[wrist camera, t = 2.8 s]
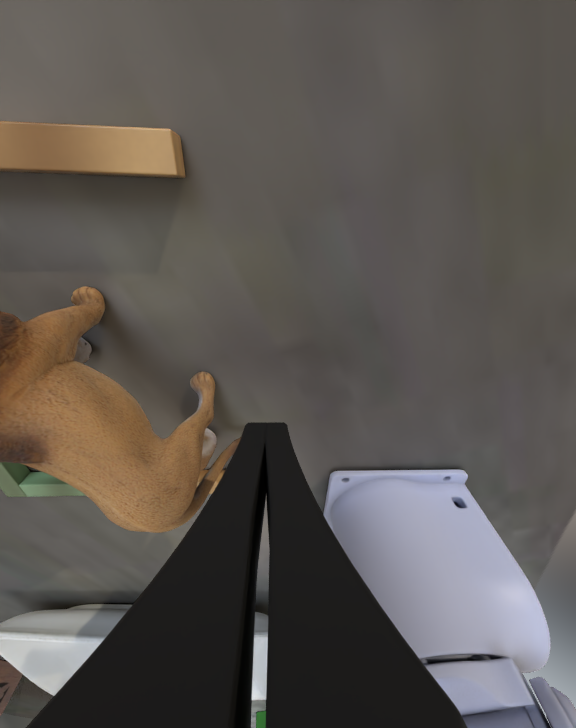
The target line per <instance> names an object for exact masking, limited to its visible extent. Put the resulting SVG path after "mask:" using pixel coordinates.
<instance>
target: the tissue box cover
mask: <svg viewBox="0 0 576 728" xmlns="http://www.w3.org/2000/svg"><path fill="white" fill-rule="evenodd" d="M22 675H23V674H22V673H21V672H20V671H18V670H17V669H16V668H15V667H14V666H13V665H11V664H10V663H9V662H7V661H3V660H0V716H1V714H2V713H3V711H4V709H5V707H6V705H7V703H8V701H9V700H10V698H11V696H12V694H13V692H14V690H15V688H16V687H17V685H18V683H19V681H20V679H21V677H22Z"/></svg>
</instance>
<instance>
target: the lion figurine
mask: <svg viewBox="0 0 576 728" xmlns="http://www.w3.org/2000/svg"><path fill="white" fill-rule="evenodd" d="M71 301H72V303H73V304H75V305H76V306H72V307H68V308H64V309H59V310H54V311H51V312H47V313H44V314H42V315H39V316H37V317H35V318H33V319H31V320H29V321H26V322H22V321H20V320H19V319H18V318H17V317H16V316H14V315H12V314H9V313H5V312H1V311H0V462H9V463H20V464H24V465H26V466H29V467H32V468H34V469H37V470H39V471H42V472H44V473H47V474H49V475H51V476H53V477H55V478H57V479H59V480H61V481H64V482H66V483H68V484H69V485H71V486H73V487H74V488H76V489H78V490H79V491H81V492H82V493H84V494H85V495H86V496H88V497H89V498H90V499H91V500H92V501H93V502H94V503H95V504H96V505H97V506H98V507H99V508H100V509H101V510H102V512H103V513H104V514H105V515H106V516H107V518H108V519H109V520H111V521H112V522H113V523H115V524H117V525H119V526H121V527H122V528H124V529H127V530H130V531H140V532H153V533H160V532H166V531H170V530H173V529H175V528H177V527H179V526H181V525H183V524H184V523H186V522H187V521H188V520H190V519H191V518H192V516H193V515H194V514H195V513H196V512H197V511H198V510H199V508H200V507H201V506H202V504H203V503H204V501H205V499H206V498H207V496H208V494H209V492H210V491H211V489H212V487H213V485H214V483H215V481H216V480H217V478H218V476H219V474H220V472H221V471H222V469H223V467H224V465H225V464H226V462H227V461H228V459H229V458H230V457H231V456H232V455H233V454H234V452H235V450H236V448H237V446H238V444H239V441H240V439H241V437H240V438H239V439H237V440H235V441H233V442H232V443H231V444H230V445H229V446H228V447H227V448H226V449H225V450H224V451H223V452H222V453H221V455H220V456H219V457H218V459H217V460H216V461H215V462H214V464H213V465H212V466H211V468H210V470H209V471H208V473H207V474H206V475H205V477H204V478H203V479H202V481H201V482H200V484H199V485H198V486H197V482H198V478H199V473H200V471H202V470H203V469H204V468H205V467H206V466H207V464H208V462H209V460H210V458H211V456H212V454H213V453H214V450H215V448H216V445H217V439H216V435H215V434H214V433H213V432H212V431H211V430H209V429H208V428H207V426H208V425H209V424H210V423H211V422H212V420H213V417H214V406H213V400H214V393H215V382H214V379H213V377H212V376H211V375H210V374H209V373H207V372H202V371H201V372H198V373H197V374H195V375H194V376H193V377H192V378H191V380H190V385H191V387H192V388H193V389H194V390H195V392H196V393H197V394H198V396H199V406H198V409H197V411H196V412H195V413H194V414H193V415H192V416H190V417H189V418H188V419H186V420H185V421H184V422H182V423H181V424H180V425H179V426H178V427H177V428H176V429H175V430H174V431H173V433H172V434H171V435H170V436H169V437H167V438H165V439H162V438H159V437H158V436H157V435H156V434H155V433H154V432H153V429H152V427H151V425H150V422H149V420H148V419H147V417H146V415H145V413H144V411H143V410H142V408H141V407H140V405H139V403H138V402H137V401H136V399H135V398H134V397H133V396H132V395H130V394H129V393H128V392H127V391H126V390H125V389H124V388H123V387H122V386H121V385H119V384H118V383H117V382H115V381H114V380H113V379H111V378H109V377H108V376H106V375H104V374H102V373H100V372H98V371H97V370H95V369H93V368H91V367H88V366H86V365H84V364H83V363H85V362H86V361H87V360H89V358H90V356H89V355H90V353H91V351H92V348H91V345H90V344H89V343H88V342H87V341H86V340H85V339H83V338H82V335H83V334H84V333H86V332H87V331H88V330H89V329H90V328H91V327H93V326H95V325H97V324H98V323H99V322H100V320H101V317H102V315H103V313H104V311H105V303H104V299H103V296H102V295H101V293H100V292H99V291H98V290H97V289H95V288H92V287H85V286H84V287H81V288H78V289H76V290H75V291H74V292H73V296H72V297H71ZM196 486H197V488H196Z"/></svg>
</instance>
